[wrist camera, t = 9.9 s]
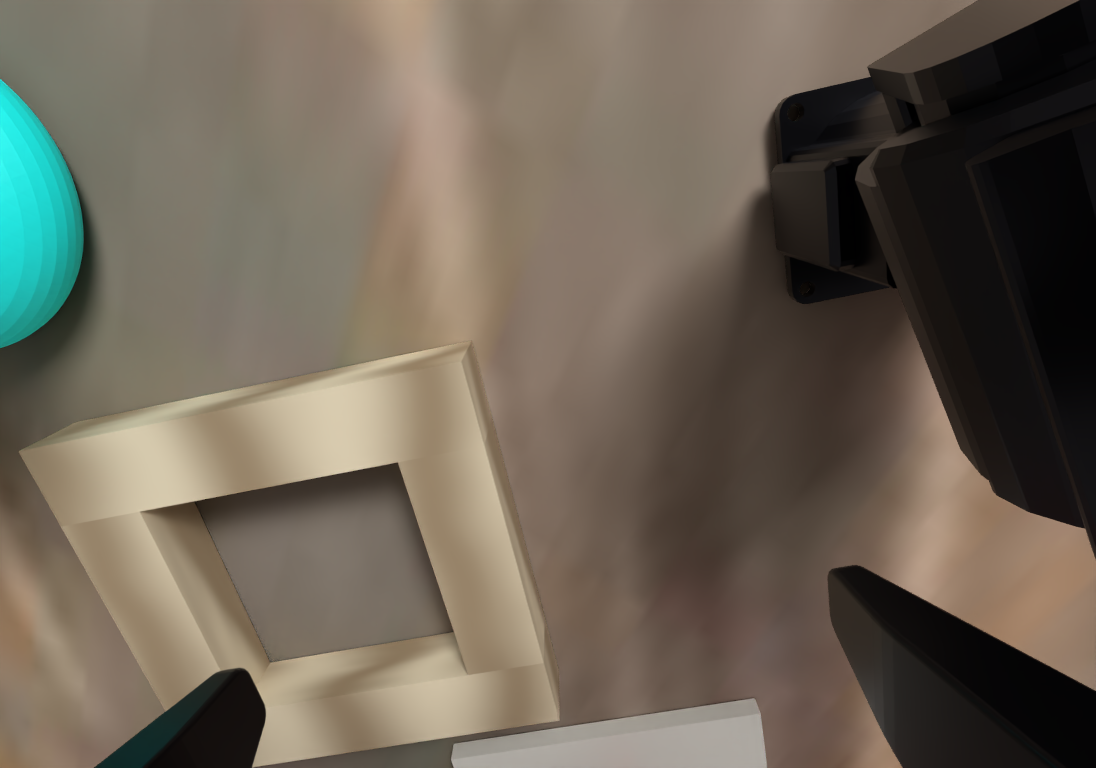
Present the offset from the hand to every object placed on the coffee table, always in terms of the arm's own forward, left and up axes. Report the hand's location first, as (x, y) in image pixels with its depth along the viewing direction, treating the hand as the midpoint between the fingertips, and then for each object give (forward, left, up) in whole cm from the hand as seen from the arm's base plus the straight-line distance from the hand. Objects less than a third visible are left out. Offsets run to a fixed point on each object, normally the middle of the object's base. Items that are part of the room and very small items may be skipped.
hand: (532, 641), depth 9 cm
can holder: (+10, +6, -13) cm, 17 cm away
